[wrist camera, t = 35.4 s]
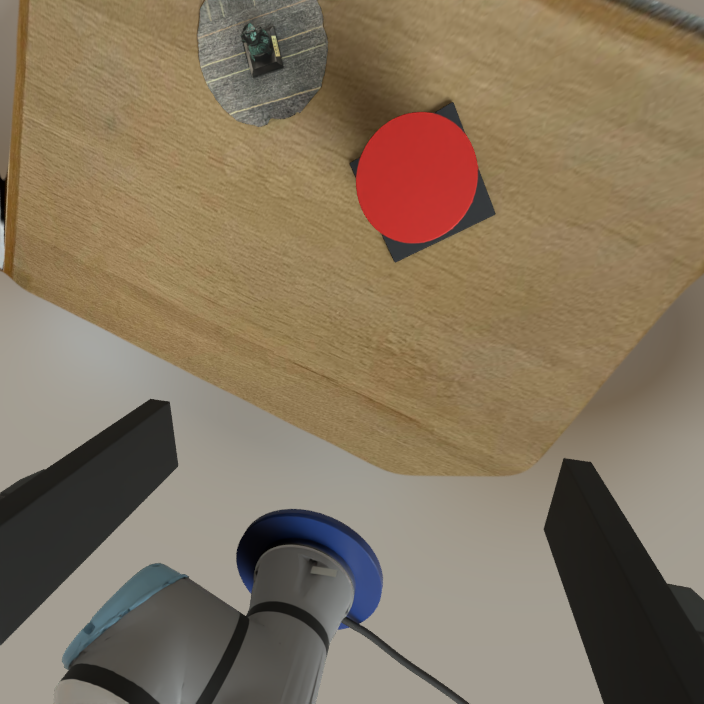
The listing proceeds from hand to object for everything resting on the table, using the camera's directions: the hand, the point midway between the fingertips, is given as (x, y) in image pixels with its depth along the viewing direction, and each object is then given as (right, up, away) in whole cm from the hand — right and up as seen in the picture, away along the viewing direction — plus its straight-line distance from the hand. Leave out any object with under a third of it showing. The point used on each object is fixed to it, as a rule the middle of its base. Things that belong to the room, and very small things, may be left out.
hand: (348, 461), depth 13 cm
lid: (+4, +14, +12) cm, 19 cm away
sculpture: (-8, +31, +22) cm, 38 cm away
